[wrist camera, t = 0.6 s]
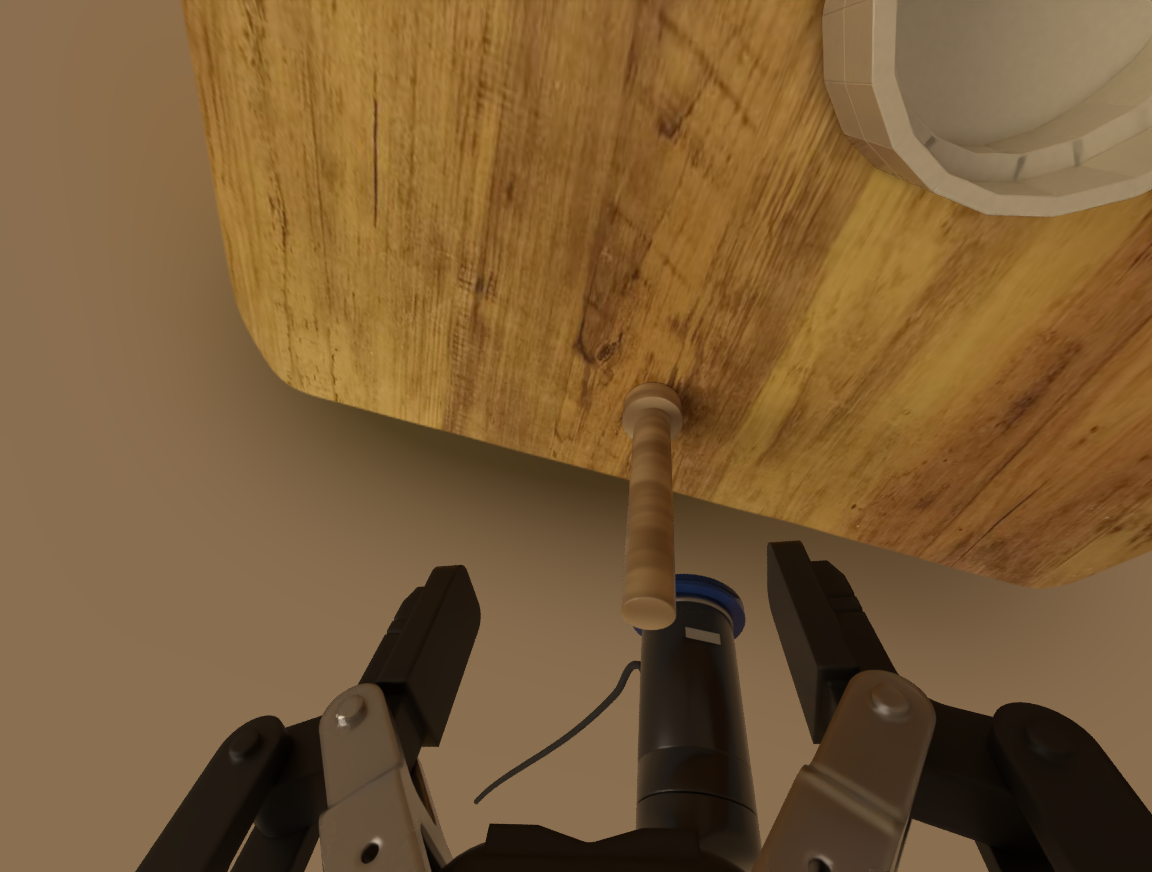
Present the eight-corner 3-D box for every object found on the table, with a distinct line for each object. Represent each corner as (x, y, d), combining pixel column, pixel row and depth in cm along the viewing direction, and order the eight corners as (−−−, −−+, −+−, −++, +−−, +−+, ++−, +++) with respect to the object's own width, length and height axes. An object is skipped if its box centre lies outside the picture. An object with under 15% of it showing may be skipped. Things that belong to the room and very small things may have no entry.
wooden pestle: (677, 433, 39) (688, 646, 24) (622, 428, 39) (600, 635, 25) (685, 384, 36) (703, 591, 22) (625, 380, 36) (603, 580, 22)
